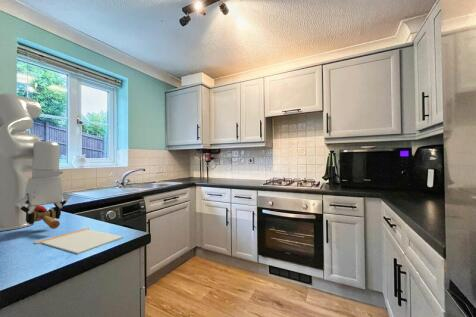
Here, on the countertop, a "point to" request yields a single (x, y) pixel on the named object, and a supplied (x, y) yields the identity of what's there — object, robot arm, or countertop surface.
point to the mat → (82, 241)
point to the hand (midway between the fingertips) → (44, 220)
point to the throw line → (59, 236)
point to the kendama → (46, 216)
